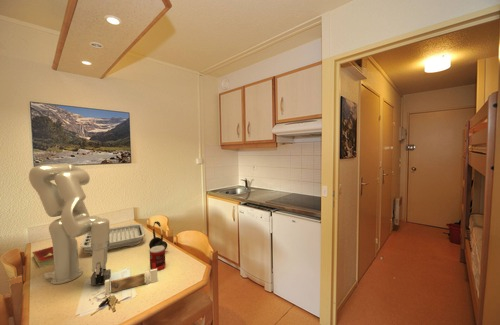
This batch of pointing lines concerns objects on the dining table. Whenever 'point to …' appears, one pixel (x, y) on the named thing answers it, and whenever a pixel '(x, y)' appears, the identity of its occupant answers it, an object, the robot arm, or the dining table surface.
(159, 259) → the canned food
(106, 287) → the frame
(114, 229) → the dish rack
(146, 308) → the dining table surface
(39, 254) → the hardcover book
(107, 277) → the doorstop
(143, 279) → the door
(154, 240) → the headphones
